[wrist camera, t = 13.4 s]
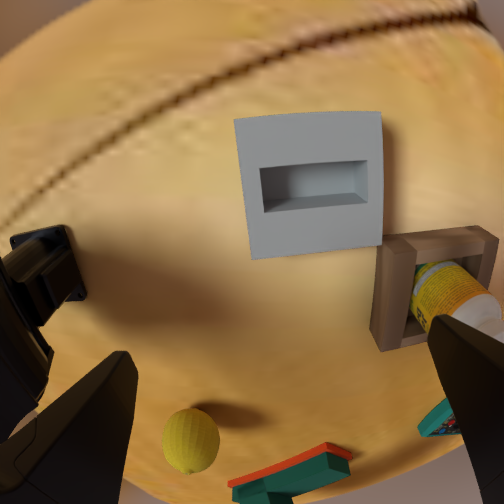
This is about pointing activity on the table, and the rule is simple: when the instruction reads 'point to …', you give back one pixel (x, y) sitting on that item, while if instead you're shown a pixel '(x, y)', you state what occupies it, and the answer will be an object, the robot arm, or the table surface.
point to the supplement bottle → (454, 298)
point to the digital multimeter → (439, 422)
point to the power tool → (292, 476)
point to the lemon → (190, 441)
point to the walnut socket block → (403, 269)
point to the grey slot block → (311, 181)
